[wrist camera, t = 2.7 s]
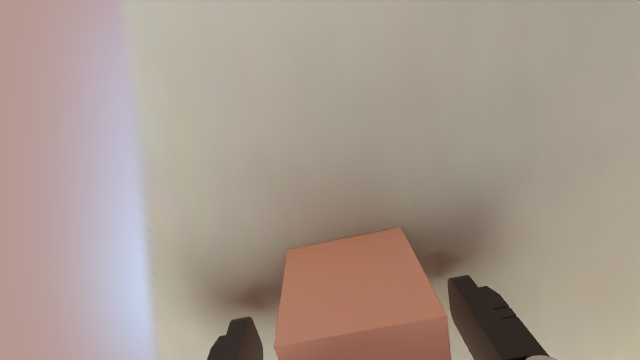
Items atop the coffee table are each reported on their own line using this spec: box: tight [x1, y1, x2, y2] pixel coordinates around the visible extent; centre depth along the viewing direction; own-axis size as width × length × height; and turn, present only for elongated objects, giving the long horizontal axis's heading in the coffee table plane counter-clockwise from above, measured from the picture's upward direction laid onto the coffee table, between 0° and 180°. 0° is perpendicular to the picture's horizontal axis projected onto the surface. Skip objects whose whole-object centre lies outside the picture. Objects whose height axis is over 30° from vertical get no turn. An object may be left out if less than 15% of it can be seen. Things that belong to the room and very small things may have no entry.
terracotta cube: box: [274, 227, 451, 360], centre depth 12 cm, size 5×5×5 cm
